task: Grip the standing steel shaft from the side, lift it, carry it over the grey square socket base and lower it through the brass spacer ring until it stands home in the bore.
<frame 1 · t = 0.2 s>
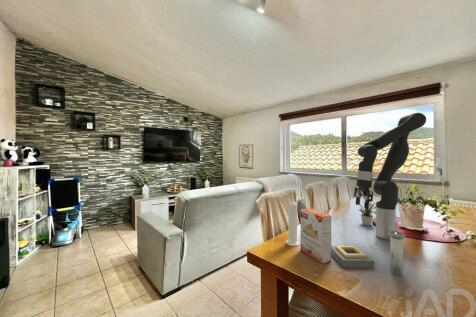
hand: (361, 206, 114), 18 cm above the table, tool pointing down, fingers open, 8 cm apart
candle: (292, 243, 105), on the table
ceramic model: (314, 238, 113), on the table
shaft: (396, 272, 79), on the table
house plant: (368, 225, 135), on the table
grey square socket base: (350, 259, 89), on the table
cracker box: (314, 256, 92), on the table
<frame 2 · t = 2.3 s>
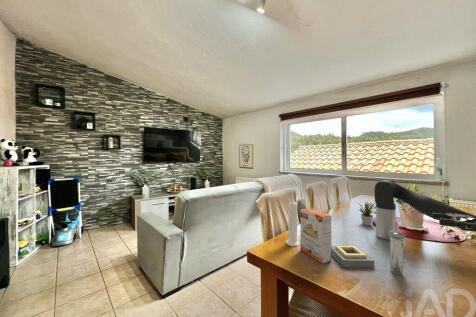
hand: (435, 218, 72), 24 cm above the table, tool horizontal, fingers open, 8 cm apart
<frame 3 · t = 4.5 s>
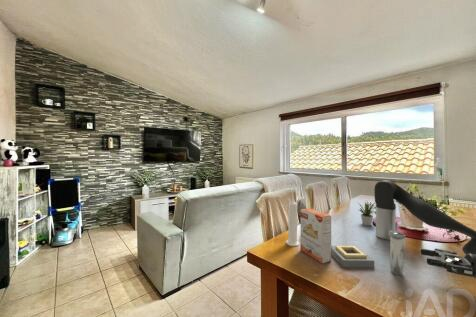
hand: (423, 255, 74), 9 cm above the table, tool horizontal, fingers open, 8 cm apart
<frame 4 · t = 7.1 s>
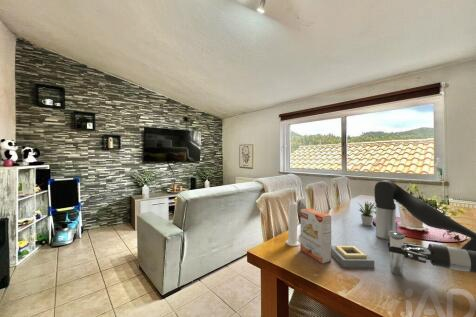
hand: (388, 246, 80), 10 cm above the table, tool horizontal, fingers closed on shaft, 4 cm apart
shaft: (396, 272, 79), on the table, touching gripper
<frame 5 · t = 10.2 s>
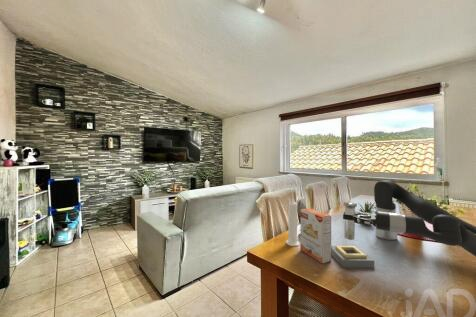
hand: (343, 215, 90), 20 cm above the table, tool horizontal, fingers closed on shaft, 4 cm apart
shaft: (349, 237, 89), point 10 cm above the table, touching gripper
when the fingers open (11 cm above the table, at t = 13.0 s): shaft drops 1 cm, resting in grey square socket base.
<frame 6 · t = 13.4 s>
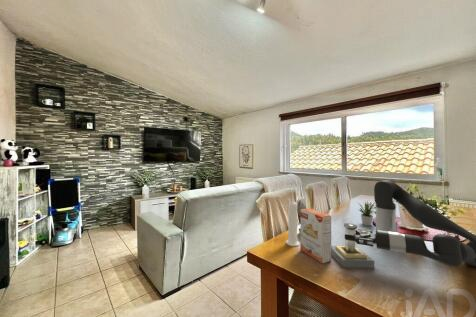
hand: (345, 233, 90), 11 cm above the table, tool horizontal, fingers open, 8 cm apart
shaft: (350, 259, 88), resting in grey square socket base
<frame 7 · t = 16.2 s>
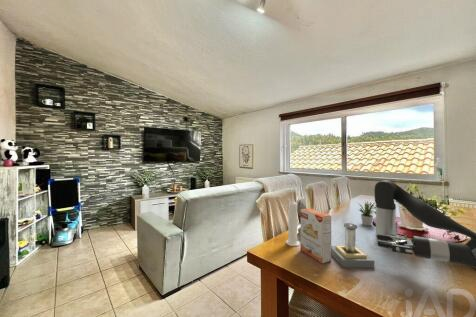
hand: (377, 239, 83), 11 cm above the table, tool horizontal, fingers open, 8 cm apart
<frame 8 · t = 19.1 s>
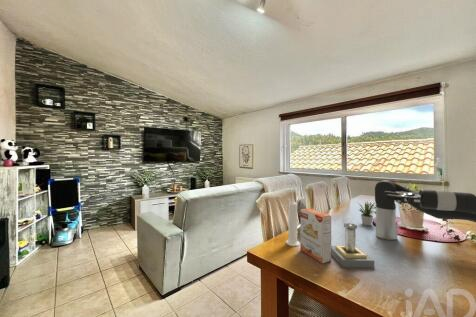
hand: (385, 195, 85), 30 cm above the table, tool horizontal, fingers open, 8 cm apart
at the end: shaft 0.6 cm from the grey square socket base (horizontally); shaft resting in grey square socket base; shaft tilted 0° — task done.
